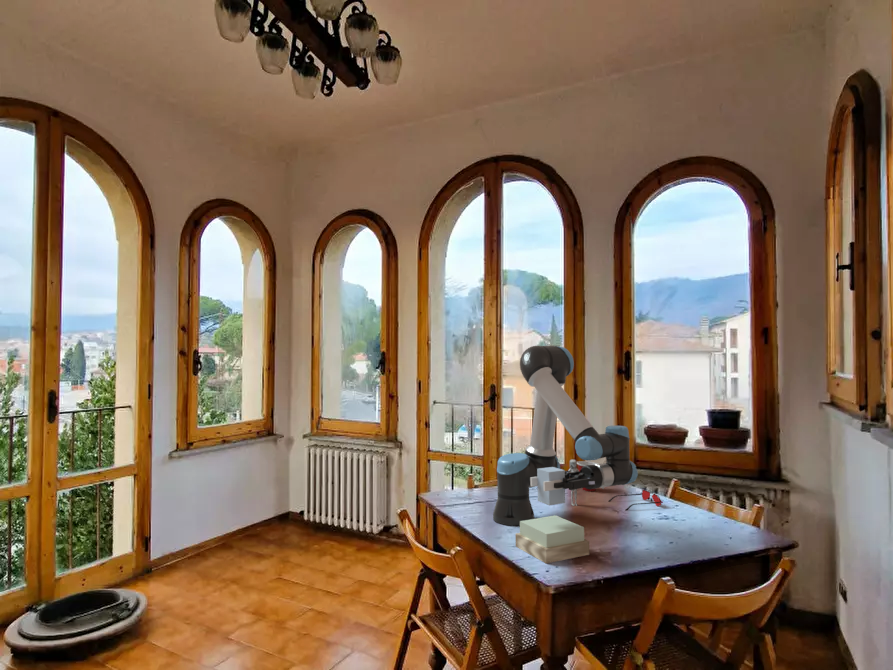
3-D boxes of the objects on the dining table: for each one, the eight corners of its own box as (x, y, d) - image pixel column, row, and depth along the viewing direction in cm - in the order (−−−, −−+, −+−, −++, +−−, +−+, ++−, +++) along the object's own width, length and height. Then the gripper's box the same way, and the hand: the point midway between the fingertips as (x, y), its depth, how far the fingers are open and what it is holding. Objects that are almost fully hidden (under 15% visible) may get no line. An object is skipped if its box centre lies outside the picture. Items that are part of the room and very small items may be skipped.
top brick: (519, 534, 171) (519, 521, 171) (555, 527, 177) (555, 515, 177) (546, 548, 158) (546, 534, 158) (584, 540, 164) (584, 527, 165)
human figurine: (561, 506, 217) (560, 461, 217) (558, 503, 220) (557, 459, 221) (589, 505, 218) (589, 460, 219) (586, 502, 222) (585, 458, 223)
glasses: (663, 508, 214) (663, 496, 214) (625, 511, 210) (625, 498, 210) (643, 499, 227) (643, 487, 228) (607, 502, 224) (607, 490, 224)
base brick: (515, 546, 171) (515, 533, 171) (556, 538, 178) (556, 526, 178) (546, 563, 157) (546, 549, 157) (589, 554, 164) (589, 541, 164)
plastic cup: (602, 493, 237) (602, 465, 237) (577, 492, 239) (577, 464, 239) (600, 487, 247) (600, 461, 248) (576, 486, 250) (576, 460, 250)
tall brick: (537, 500, 169) (537, 468, 170) (553, 498, 172) (552, 466, 172) (549, 505, 164) (548, 472, 164) (565, 502, 167) (564, 470, 167)
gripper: (617, 494, 167) (557, 503, 157) (576, 482, 184) (520, 490, 174) (616, 469, 168) (556, 477, 158) (576, 460, 185) (519, 466, 175)
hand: (537, 484), depth 166 cm, fingers closed on tall brick, 6 cm apart
